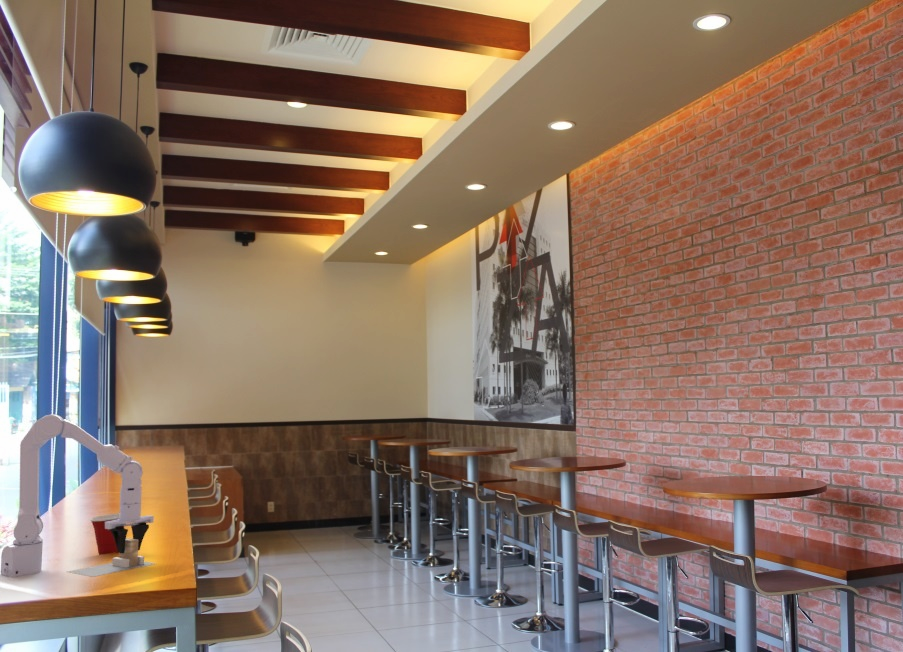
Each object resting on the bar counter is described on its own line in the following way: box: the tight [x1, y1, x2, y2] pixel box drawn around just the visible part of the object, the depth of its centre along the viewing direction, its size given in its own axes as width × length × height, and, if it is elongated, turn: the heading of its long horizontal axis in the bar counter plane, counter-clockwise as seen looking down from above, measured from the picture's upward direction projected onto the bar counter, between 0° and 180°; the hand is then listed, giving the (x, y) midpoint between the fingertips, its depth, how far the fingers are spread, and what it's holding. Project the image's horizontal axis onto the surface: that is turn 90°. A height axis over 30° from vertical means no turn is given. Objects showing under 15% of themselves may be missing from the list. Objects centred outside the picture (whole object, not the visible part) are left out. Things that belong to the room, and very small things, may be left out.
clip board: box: [66, 555, 157, 578], centre depth 221 cm, size 20×12×3 cm, turn 147°
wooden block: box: [119, 537, 139, 566], centre depth 226 cm, size 2×5×7 cm, turn 57°
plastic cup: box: [89, 513, 125, 556], centre depth 246 cm, size 11×11×12 cm
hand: (128, 551), depth 226 cm, fingers open, 4 cm apart
